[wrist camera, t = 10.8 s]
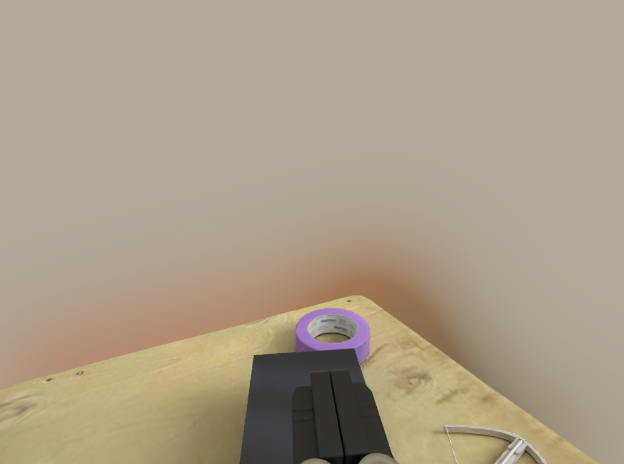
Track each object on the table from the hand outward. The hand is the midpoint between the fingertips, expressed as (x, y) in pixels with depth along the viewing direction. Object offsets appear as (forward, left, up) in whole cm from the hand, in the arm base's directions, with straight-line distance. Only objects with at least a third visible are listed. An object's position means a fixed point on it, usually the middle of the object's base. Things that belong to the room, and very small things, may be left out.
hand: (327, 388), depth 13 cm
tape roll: (-25, +27, -25) cm, 44 cm away
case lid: (-13, +11, -18) cm, 25 cm away
